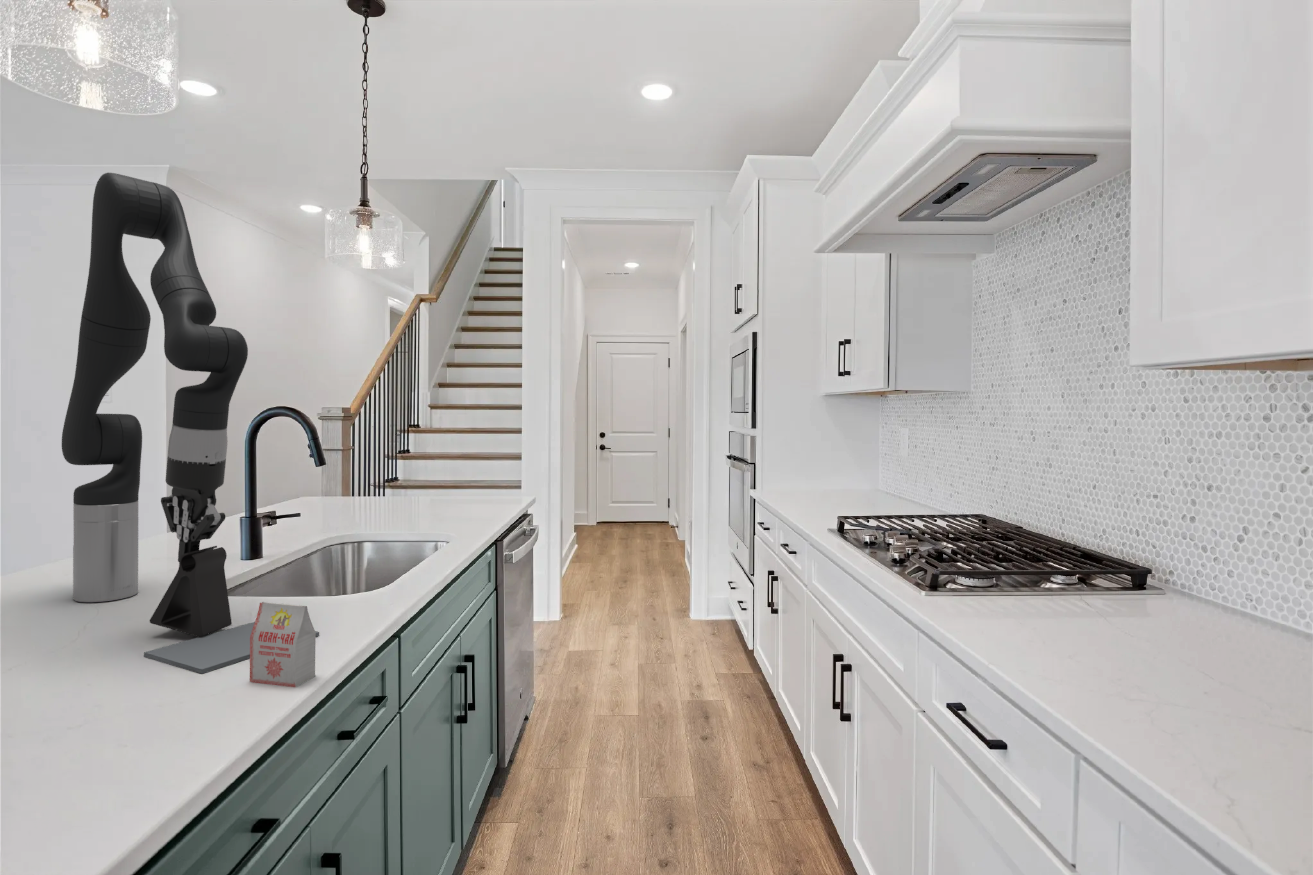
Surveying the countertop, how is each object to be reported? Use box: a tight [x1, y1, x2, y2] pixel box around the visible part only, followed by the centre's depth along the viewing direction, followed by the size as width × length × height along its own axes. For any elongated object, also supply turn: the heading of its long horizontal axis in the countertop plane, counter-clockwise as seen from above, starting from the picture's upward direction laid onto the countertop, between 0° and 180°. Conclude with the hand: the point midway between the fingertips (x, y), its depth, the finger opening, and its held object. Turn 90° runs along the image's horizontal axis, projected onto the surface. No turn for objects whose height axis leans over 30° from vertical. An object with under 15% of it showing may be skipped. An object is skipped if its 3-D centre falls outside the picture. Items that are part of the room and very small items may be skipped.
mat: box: [143, 621, 320, 675], centre depth 102 cm, size 13×18×1 cm
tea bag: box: [249, 601, 317, 688], centre depth 90 cm, size 4×7×10 cm, turn 79°
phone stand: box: [149, 545, 233, 638], centre depth 106 cm, size 9×6×12 cm, turn 83°
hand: (187, 562), depth 108 cm, fingers closed
